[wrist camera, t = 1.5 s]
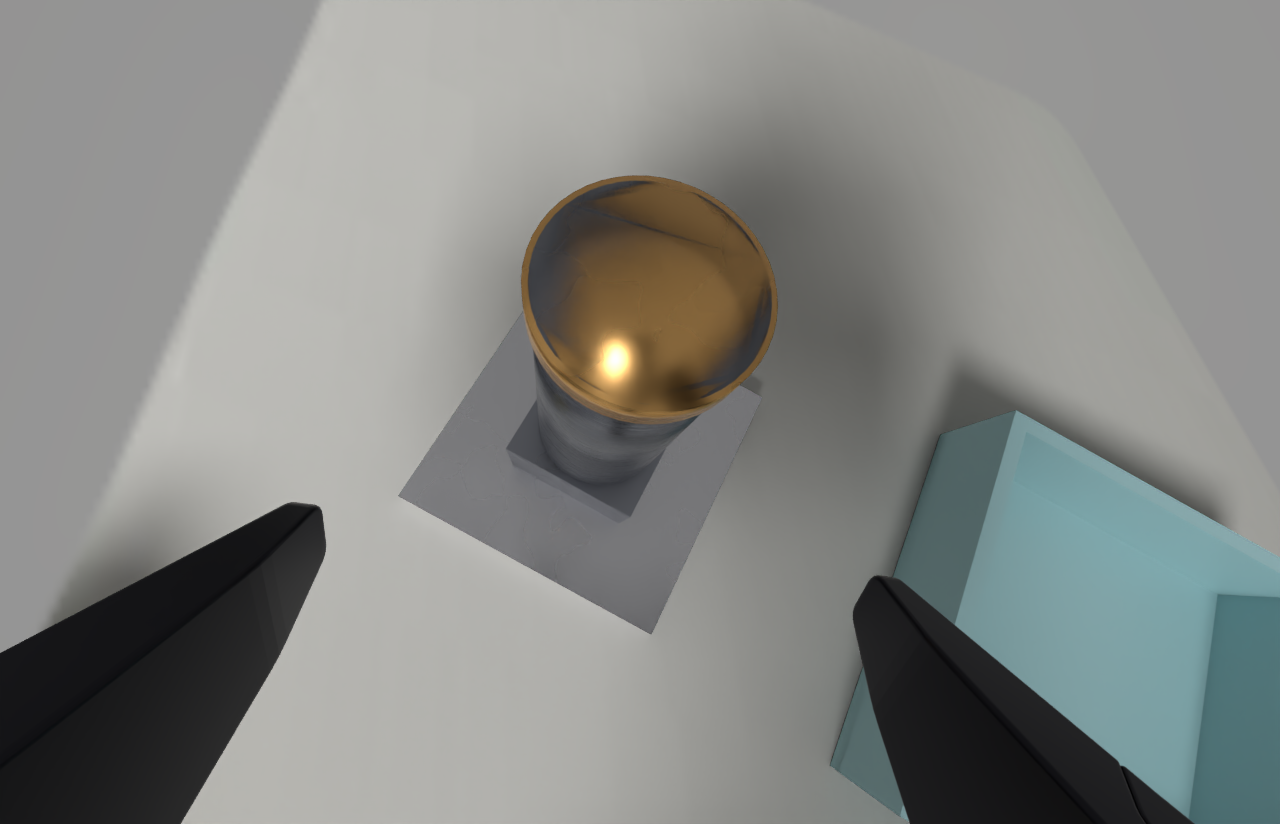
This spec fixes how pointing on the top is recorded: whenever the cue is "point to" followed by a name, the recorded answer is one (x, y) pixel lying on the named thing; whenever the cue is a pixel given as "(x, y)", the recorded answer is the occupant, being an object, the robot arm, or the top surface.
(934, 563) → the tray
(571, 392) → the grey gold-rimmed cylinder
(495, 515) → the stud plate
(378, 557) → the top surface
